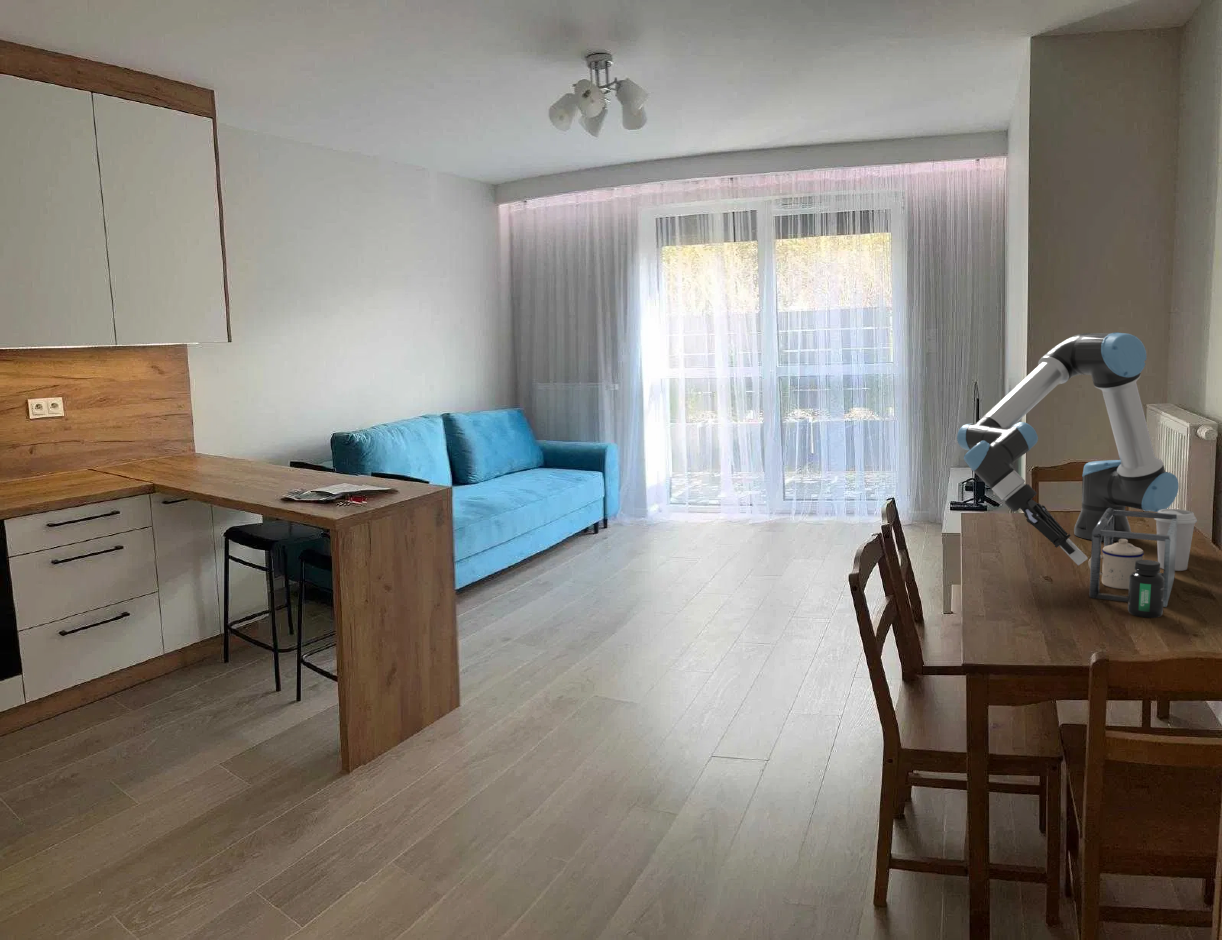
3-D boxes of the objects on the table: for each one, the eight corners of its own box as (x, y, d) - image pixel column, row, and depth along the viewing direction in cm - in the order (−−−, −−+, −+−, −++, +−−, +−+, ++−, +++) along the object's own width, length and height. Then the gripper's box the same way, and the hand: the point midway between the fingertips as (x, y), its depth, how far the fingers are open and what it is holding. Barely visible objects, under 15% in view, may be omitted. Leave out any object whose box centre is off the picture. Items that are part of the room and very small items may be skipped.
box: (1103, 570, 239) (1106, 507, 237) (1174, 577, 230) (1178, 512, 228) (1088, 597, 218) (1091, 528, 215) (1166, 607, 208) (1170, 535, 206)
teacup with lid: (1138, 580, 229) (1141, 536, 227) (1145, 591, 221) (1147, 544, 219) (1085, 577, 233) (1087, 533, 231) (1089, 587, 225) (1091, 542, 223)
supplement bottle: (1148, 620, 200) (1151, 567, 198) (1120, 612, 207) (1123, 561, 205) (1169, 615, 203) (1172, 563, 201) (1141, 607, 209) (1143, 556, 207)
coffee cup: (1194, 573, 233) (1197, 516, 230) (1151, 569, 238) (1154, 514, 235) (1193, 564, 241) (1197, 509, 238) (1152, 561, 246) (1154, 507, 243)
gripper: (1009, 496, 243) (1075, 564, 236) (997, 505, 232) (1066, 576, 225) (1031, 478, 239) (1099, 547, 232) (1020, 486, 228) (1091, 558, 221)
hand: (1083, 561), depth 229 cm, fingers closed
